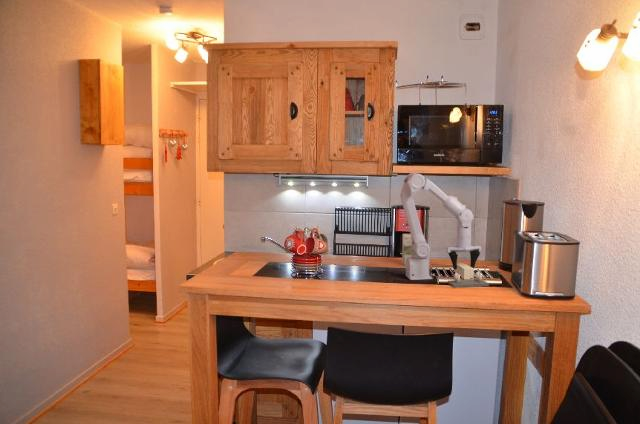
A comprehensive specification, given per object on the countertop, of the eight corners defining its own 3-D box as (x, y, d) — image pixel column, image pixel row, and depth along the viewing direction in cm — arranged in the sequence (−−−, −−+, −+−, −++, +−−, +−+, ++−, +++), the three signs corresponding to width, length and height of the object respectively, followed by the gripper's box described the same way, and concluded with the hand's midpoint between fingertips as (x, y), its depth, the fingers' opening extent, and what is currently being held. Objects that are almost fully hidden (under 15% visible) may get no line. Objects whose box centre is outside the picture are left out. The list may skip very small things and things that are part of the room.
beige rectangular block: (473, 280, 203) (473, 268, 203) (464, 280, 203) (464, 268, 202) (462, 273, 214) (462, 262, 214) (453, 274, 214) (454, 262, 213)
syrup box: (414, 263, 235) (414, 233, 233) (415, 266, 229) (415, 235, 228) (402, 263, 236) (402, 233, 234) (403, 265, 230) (403, 235, 228)
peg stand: (454, 287, 192) (454, 276, 192) (447, 283, 199) (448, 272, 199) (488, 286, 194) (489, 274, 193) (481, 281, 201) (481, 270, 200)
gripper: (450, 239, 202) (450, 271, 204) (484, 237, 203) (484, 269, 205) (444, 236, 209) (444, 267, 210) (477, 234, 210) (477, 265, 212)
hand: (463, 268), depth 208 cm, fingers open, 7 cm apart
